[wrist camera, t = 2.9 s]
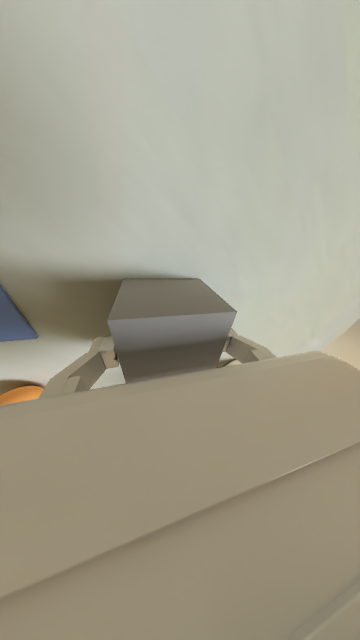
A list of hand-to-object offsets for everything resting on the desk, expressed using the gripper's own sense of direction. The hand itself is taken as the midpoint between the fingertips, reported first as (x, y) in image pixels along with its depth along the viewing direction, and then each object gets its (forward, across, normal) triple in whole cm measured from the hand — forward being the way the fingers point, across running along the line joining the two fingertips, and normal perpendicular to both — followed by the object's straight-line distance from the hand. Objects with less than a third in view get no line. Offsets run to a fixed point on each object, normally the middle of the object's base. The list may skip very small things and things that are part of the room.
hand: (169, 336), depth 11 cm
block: (+4, 0, 0) cm, 4 cm away
